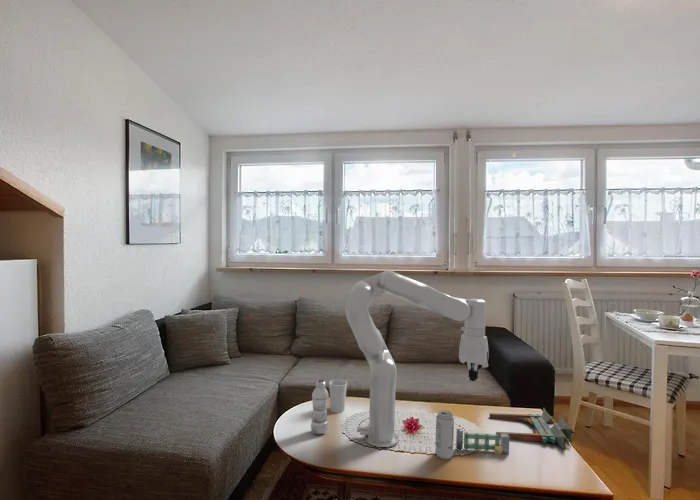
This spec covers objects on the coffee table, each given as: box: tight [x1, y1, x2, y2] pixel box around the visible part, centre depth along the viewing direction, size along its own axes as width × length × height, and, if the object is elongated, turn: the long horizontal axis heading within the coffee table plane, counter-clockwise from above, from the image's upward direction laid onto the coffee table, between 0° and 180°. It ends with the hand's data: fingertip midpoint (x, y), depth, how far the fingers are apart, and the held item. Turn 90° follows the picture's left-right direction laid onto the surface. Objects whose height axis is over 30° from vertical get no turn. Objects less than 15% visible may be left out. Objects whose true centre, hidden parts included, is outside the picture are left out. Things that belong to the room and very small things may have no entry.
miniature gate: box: [489, 407, 577, 451], centre depth 160 cm, size 27×6×30 cm
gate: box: [463, 431, 500, 452], centre depth 143 cm, size 12×1×6 cm, turn 86°
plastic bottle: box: [310, 379, 330, 435], centre depth 154 cm, size 6×7×20 cm
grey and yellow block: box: [493, 434, 510, 456], centre depth 142 cm, size 5×3×6 cm, turn 86°
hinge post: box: [455, 428, 464, 450], centre depth 144 cm, size 2×2×7 cm
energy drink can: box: [435, 409, 455, 460], centre depth 139 cm, size 6×6×15 cm
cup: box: [328, 379, 348, 414], centre depth 176 cm, size 8×8×12 cm
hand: (473, 380), depth 150 cm, fingers closed
